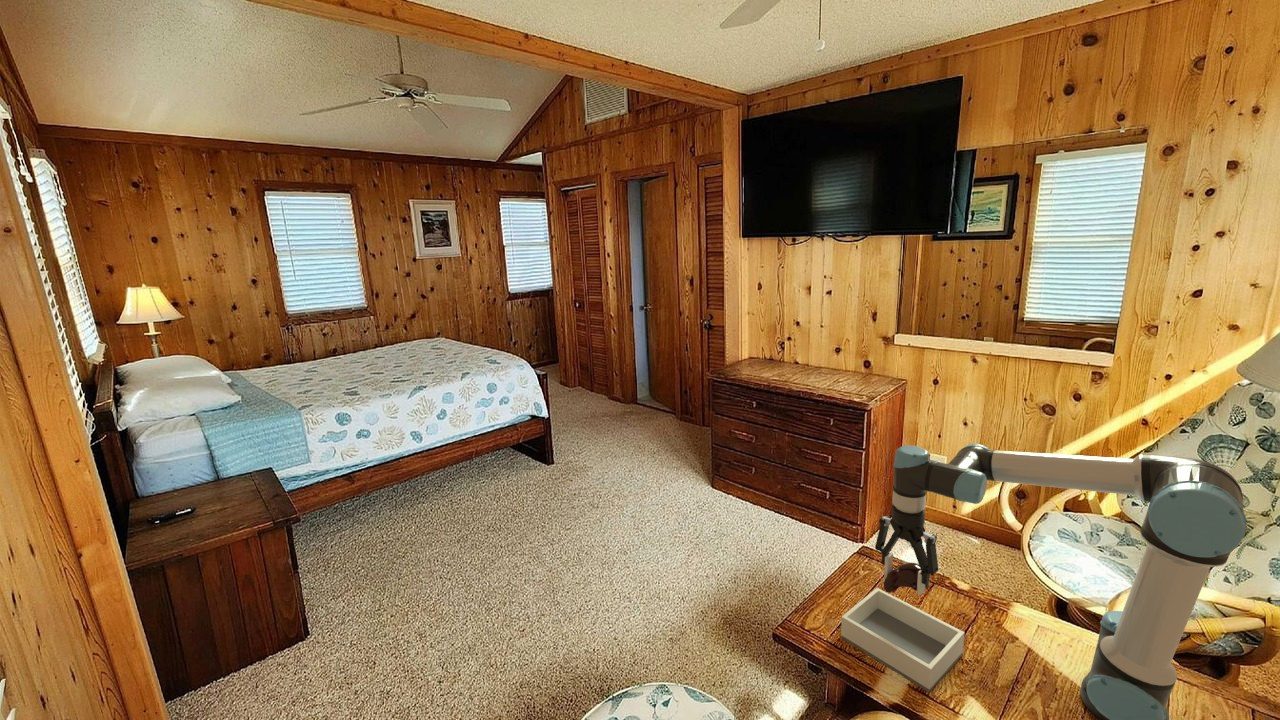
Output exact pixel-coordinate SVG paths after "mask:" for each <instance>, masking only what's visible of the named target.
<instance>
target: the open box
mask: <svg viewBox="0 0 1280 720" xmlns="http://www.w3.org/2000/svg"><path fill="white" fill-rule="evenodd" d="M840 627H841V628H840V630H841V631H840V632H841V633H840V638H841V640H843V641H844V642H847V643H848V644H850V645H852V646H853V647H855V648H856V649H858V650H859V651H861V652H862V653H864V654H866V655H868V656H869V657H871V658H873V660H876V661H877V662H879V663H880V664H882V665H884V666H885V667H887V668H888V669H890V670H892V671H893V672H895V673H897V674H898V675H900V676H901V677H903V678H905V679H906V680H908V681H910V682H911V683H912V684H914V685H916V686H918V687H919V688H920V689H922V690H924V691H925V692H927V693H928V694H930V693H931V692H932V691H933V689H934V688H935V687H936V686H937V685H938V684H939V682H940V681H941V680H942V679H943V678H944V677H945V676H946V675H947V674H948V672H950V670H951V669H952V668H953V667H954V666H955V664H956V663H957V662H958V661H959V660H960V659H961V657H962V656H963V654H964V645H965V644H964V642H965V635H966V633H965V632H964V631H962V630H961V629H959V628H956V627H955V626H953V625H951V624H949V623H948V622H945V621H943V620H941V619H940V618H937V617H935V616H933V615H932V614H930V613H928V612H926V611H924V610H923V609H919V608H918V607H916V606H914V605H912V604H909V603H908V602H906V601H904V600H903V599H900V598H899V597H896V596H894V595H893V594H890V593H889V592H886V591H885V590H882V589H880V588H879V587H876V588H875V589H873V590H872V591H871V592H870V593H869V594H868V595H866V596H865V597H864V598H862V599H861V600H860V601H859V602H857V603H856V604H855V605H854V606H852V608H850V609H849V610H848V611H847V612H845V613H844V614H843V615H842V616H841V626H840Z"/></svg>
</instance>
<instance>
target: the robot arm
mask: <svg viewBox="0 0 1280 720" xmlns="http://www.w3.org/2000/svg"><path fill="white" fill-rule="evenodd" d="M893 460H894V462H893V465H892V466H893V481H892V483H893V484H892V485H893V486H892V497H891V498H892V499H891V500H892V501H891V504H892V505H891V518H890V517H889V516H888V515H887V514H886V515H883V516H882V517H881V518H879V530H878V533H877V536H876V537H877V538H876V543H875V546H874V549H875V551H879V552H880V553H881V564H882V565H883V566H884V571H883V573H884V574H883V575H884V576H883V578H884V579H885V578H886V577H887V575H888V574H889V573H890V572H891V571H892V570H893V566H894V563H893V562H894V553H892V549H893V548H894V547H895V545H896V543H897V542H898V541H899V539H901V540H905V541H906V542H907V543H909V544H910V546H911V548H912V549H913V553H914V554H915V558H916V559H917V564H919V566H920V569H921V570H920V571H919V572H918V581H917V591H916V595H918V596H921V595H922V594H923V593H924V592H926V588H925V585H926V584H927V583H928V582H929V583H930V575H931V576H934V575H935V574H937V572H939V563H938V554H937V546H936V545H937V544H936V543H937V539H938V536H937V534H934V533H933V534H930V533H928V532H926V529H925V520H926V503H927V492H929V493H933V494H937V495H939V496H940V495H941V496H943V497H946V498H950V499H953V500H956V501H958V502H963V503H964V502H965V503H969V504H974V505H978V504H980V503H981V502H982V501H983V500H984V497H985V495H986V490H987V487H988V481H990V482H1001V483H1011V484H1020V485H1021V484H1022V485H1029V486H1030V485H1033V486H1040V487H1050V488H1059V489H1060V488H1061V489H1068V490H1079V491H1087V492H1088V491H1089V492H1097V493H1098V492H1099V493H1106V494H1107V493H1108V494H1116V495H1117V494H1118V495H1125V496H1126V495H1129V496H1135V497H1136V498H1138V499H1139V500H1141V502H1146V503H1149V505H1148V506H1147V511H1146V513H1145V516H1144V520H1143V522H1142V525H1141V528H1140V531H1139V534H1140V536H1141V538H1142V539H1143V541H1145V543H1146V546H1145V550H1144V552H1143V554H1142V557H1141V560H1140V563H1139V565H1138V569H1137V571H1136V574H1135V577H1134V580H1133V582H1132V585H1131V588H1130V591H1129V594H1128V596H1127V599H1126V601H1125V604H1124V606H1123V610H1120V611H1119V610H1111V611H1107V612H1105V613H1104V614H1103V615H1102V617H1101V620H1100V621H1099V624H1100V629H1099V634H1098V639H1097V644H1096V647H1095V652H1094V655H1093V658H1092V664H1091V667H1090V670H1089V671H1088V673H1087V674H1086V675H1085V677H1083V679H1082V681H1081V683H1080V690H1079V695H1080V699H1081V700H1082V702H1083V704H1084V705H1085V707H1086V708H1087V709H1088V711H1090V712H1091V713H1092V714H1093V715H1094V716H1095V717H1096V718H1098V719H1099V720H1170V715H1169V710H1168V707H1167V704H1168V701H1169V698H1170V697H1171V693H1172V691H1173V688H1174V686H1175V685H1176V682H1177V679H1178V673H1177V671H1176V668H1175V667H1174V666H1173V664H1172V661H1173V658H1174V656H1175V654H1176V651H1177V648H1178V646H1179V644H1180V642H1181V639H1182V636H1183V634H1184V632H1185V630H1186V626H1187V625H1188V622H1189V620H1190V617H1191V615H1192V613H1193V611H1194V610H1193V609H1194V607H1195V605H1196V603H1197V600H1198V598H1199V595H1200V593H1201V590H1202V589H1203V586H1204V583H1205V581H1206V579H1207V576H1208V575H1209V571H1210V569H1211V568H1216V567H1221V566H1224V565H1226V563H1227V561H1228V559H1229V556H1230V555H1231V553H1232V551H1233V550H1235V549H1236V548H1237V547H1238V546H1239V545H1240V543H1241V542H1242V541H1243V539H1244V537H1245V535H1246V531H1247V526H1248V525H1247V518H1246V514H1245V512H1244V511H1245V510H1244V503H1243V499H1244V497H1243V490H1242V488H1241V485H1240V484H1239V483H1238V481H1237V479H1236V478H1234V476H1233V475H1232V474H1230V473H1229V472H1228V471H1227V470H1226V469H1224V468H1222V467H1221V466H1218V465H1216V464H1214V463H1212V462H1209V461H1205V460H1201V459H1197V458H1193V457H1192V458H1191V457H1182V456H1170V455H1158V454H1157V455H1156V454H1155V455H1154V454H1139V455H1138V456H1135V457H1134V458H1125V457H1124V458H1121V457H1111V456H1109V457H1107V456H1106V457H1105V456H1095V455H1094V456H1090V455H1077V454H1076V455H1075V454H1061V453H1044V452H1030V451H1029V452H1028V451H1027V452H1026V451H1010V450H998V449H997V450H996V449H990V448H989V447H988V446H986V445H983V444H979V443H970V444H968V445H966V446H964V447H963V448H961V449H960V450H958V452H957V453H956V455H955V456H954V457H953V458H952V459H951V460H950V461H949V462H948V463H944V462H941V461H936V460H933V459H931V458H930V454H929V451H928V450H927V449H925V448H922V447H921V446H918V445H910V444H909V445H902V446H900V447H898V448H897V449H896V450H895V453H894V459H893ZM890 525H891V528H892V529H893V531H894V532H893V533H892V535H891V536H890V538H889V539H888V541H887V540H886V539H887V535H888V532H889V528H890ZM922 537H923V539H924V542H923V539H922ZM886 541H887V543H886ZM923 543H925V548H924V545H923ZM885 544H886V545H885Z"/></svg>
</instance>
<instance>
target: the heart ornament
mask: <svg viewBox="0 0 1280 720" xmlns="http://www.w3.org/2000/svg"><path fill="white" fill-rule="evenodd" d="M920 570H921V569H920V566H919V563H918V562H917V563H916V562H906V563H903V564H899V566H898V567H896V568H893V569H892V571H891V572H890V573H889V574H888V575H887V577H886V578H884V581H883V589H884V591H885V592H887V593H893V592H895V591H897V590H899V588H900V587H904V588H908V589H909V588H910V589H912V590H914V591H916V592H917V581H918V572H919V571H920ZM929 586H930V581H929V582H928V583H927V584H926V585H925V589H927V588H928V587H929Z"/></svg>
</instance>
